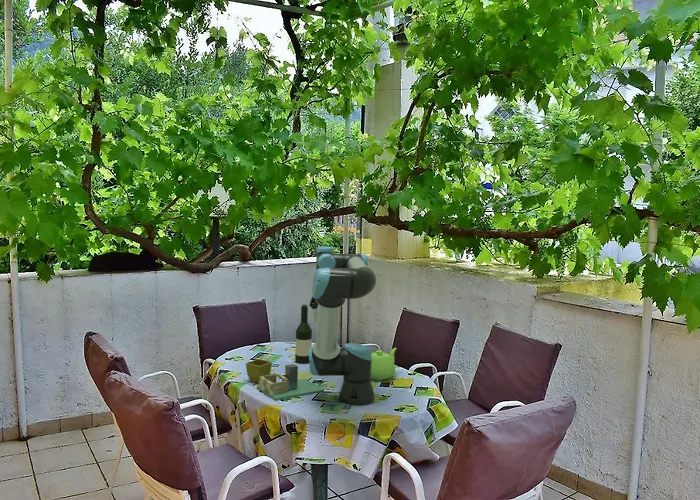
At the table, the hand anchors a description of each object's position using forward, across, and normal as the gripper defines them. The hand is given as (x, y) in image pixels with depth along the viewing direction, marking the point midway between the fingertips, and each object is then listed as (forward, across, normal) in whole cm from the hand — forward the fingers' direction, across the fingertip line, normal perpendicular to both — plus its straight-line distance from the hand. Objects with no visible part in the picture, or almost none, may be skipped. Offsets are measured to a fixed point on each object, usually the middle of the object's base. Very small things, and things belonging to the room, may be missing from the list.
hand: (322, 325), depth 276 cm
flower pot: (+26, +13, +26) cm, 39 cm away
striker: (+24, -7, +21) cm, 33 cm away
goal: (+26, -4, +28) cm, 38 cm away
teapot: (+26, -11, -27) cm, 39 cm away
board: (+26, -6, +20) cm, 33 cm away
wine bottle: (+26, +30, -9) cm, 41 cm away
